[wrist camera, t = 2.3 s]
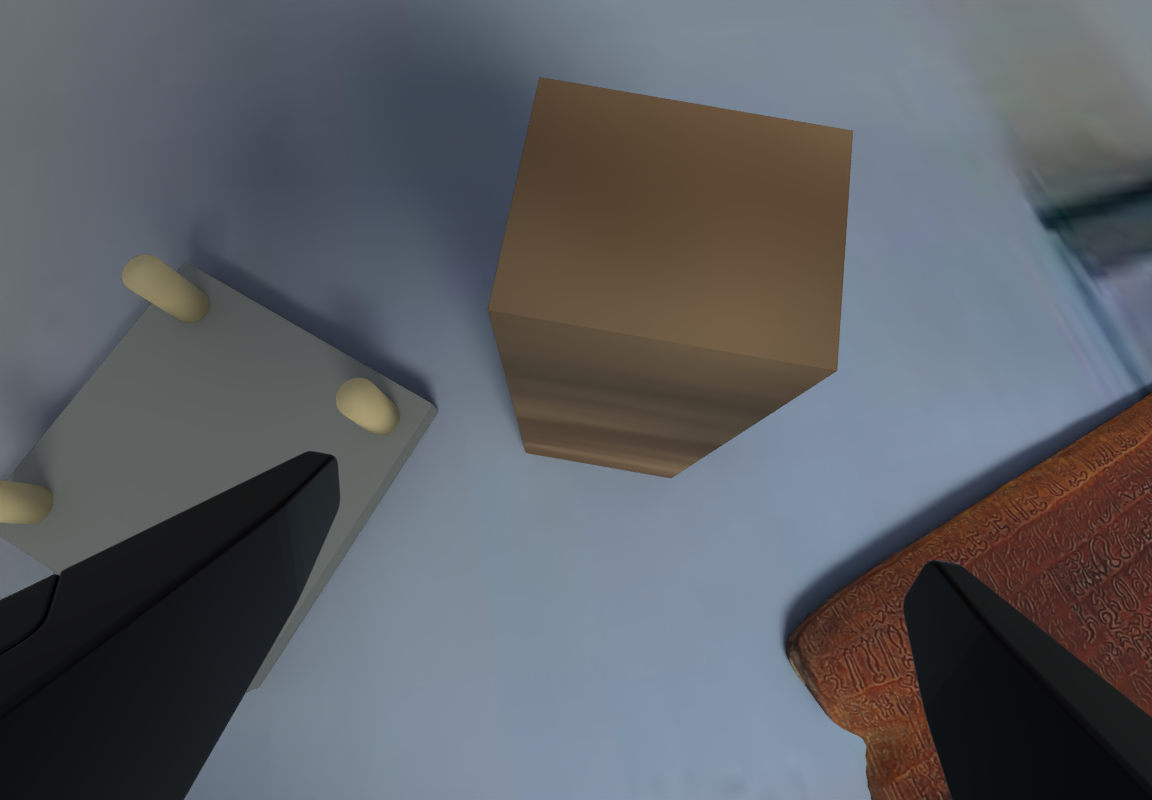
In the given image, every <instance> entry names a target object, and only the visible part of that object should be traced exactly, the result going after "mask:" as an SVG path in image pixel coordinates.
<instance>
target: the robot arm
mask: <svg viewBox="0 0 1152 800" xmlns="http://www.w3.org/2000/svg"><path fill="white" fill-rule="evenodd" d="M339 505H340V484H339V470H338V461H337V459H336V457H335V456H333V455H332V454H326V453H321V452H315V451H307V452H304V453H302V454H300V455H298V456H296V457H294V458H292V459H290V460H288V461H285V462H283V463H281V464H279V465H277V466H275V467H273V468H271V469H269V470H267V471H265V472H263V473H261V474H259V475H257V476H255V477H253V478H251V479H249V480H246V481H244V482H242V483H240V484H238V485H236V486H234V487H232V488H230V489H228V490H226V491H224V492H222V493H220V494H218V495H216V496H214V497H212V498H210V499H208V500H205V501H203V502H201V503H199V504H197V505H195V506H193V507H191V508H189V509H187V510H185V511H183V512H181V513H179V514H177V515H175V516H173V517H171V518H169V519H167V520H164V521H162V522H160V523H158V524H156V525H154V526H152V527H150V528H148V529H146V530H144V531H142V532H140V533H138V534H136V535H134V536H132V537H130V538H128V539H126V540H123V541H121V542H119V543H117V544H115V545H113V546H111V547H109V548H107V549H105V550H103V551H101V552H99V553H97V554H95V555H93V556H91V557H89V558H87V559H84V560H82V561H80V562H78V563H76V564H74V565H72V566H70V567H68V568H66V569H64V570H62V571H61V573H60V575H57V574H54V575H51V576H49V577H47V578H45V579H43V580H41V581H39V582H37V583H35V584H33V585H31V586H29V587H27V588H25V589H23V590H21V591H18V592H16V593H14V594H12V595H10V596H8V597H6V598H3V599H1V600H0V800H184V798H185V797H186V795H187V793H188V791H189V790H190V788H191V786H192V784H193V783H194V781H195V779H196V778H197V776H198V774H199V772H200V771H201V769H202V767H203V765H204V764H205V762H206V760H207V759H208V757H209V755H210V753H211V752H212V750H213V748H214V746H215V745H216V743H217V741H218V740H219V738H220V736H221V734H222V733H223V731H224V729H225V727H226V726H227V724H228V722H229V721H230V719H231V717H232V715H233V714H234V712H235V710H236V708H237V707H238V705H239V703H240V701H241V700H242V698H243V696H244V695H245V693H246V691H247V689H248V688H249V686H250V684H251V682H252V681H253V679H254V677H255V676H256V674H257V672H258V670H259V669H260V667H261V665H262V663H263V662H264V660H265V658H266V657H267V655H268V653H269V651H270V650H271V648H272V646H273V644H274V643H275V641H276V639H277V638H278V636H279V634H280V632H281V631H282V629H283V627H284V625H285V624H286V622H287V620H288V618H289V617H290V615H291V613H292V611H293V610H294V608H295V606H296V604H297V602H298V600H299V598H300V596H301V594H302V592H303V590H304V588H305V585H306V583H307V581H308V579H309V576H310V574H311V572H312V569H313V567H314V565H315V563H316V560H317V558H318V556H319V553H320V551H321V549H322V546H323V544H324V542H325V540H326V537H327V535H328V533H329V530H330V528H331V526H332V523H333V521H334V519H335V517H336V514H337V512H338V509H339ZM903 613H904V618H905V623H906V628H907V633H908V638H909V642H910V647H911V652H912V657H913V662H914V667H915V672H916V677H917V682H918V687H919V691H920V696H921V700H922V704H923V708H924V712H925V716H926V719H927V723H928V726H929V729H930V733H931V736H932V739H933V742H934V745H935V748H936V752H937V755H938V758H939V761H940V764H941V767H942V771H943V774H944V777H945V780H946V783H947V787H948V790H949V793H950V796H951V799H952V800H1152V717H1151V716H1150V715H1149V714H1147V713H1146V712H1145V711H1144V710H1142V709H1141V708H1140V707H1139V706H1137V705H1136V704H1135V703H1134V702H1132V701H1131V700H1130V699H1129V698H1127V697H1126V696H1125V695H1124V694H1122V693H1121V692H1120V691H1118V690H1117V689H1116V688H1115V687H1113V686H1112V685H1111V684H1110V683H1108V682H1107V681H1106V680H1105V679H1103V678H1102V677H1101V676H1100V675H1098V674H1097V673H1096V672H1095V671H1093V670H1092V669H1091V668H1090V667H1088V666H1087V665H1086V664H1085V663H1083V662H1082V661H1081V660H1080V659H1078V658H1077V657H1076V656H1075V655H1073V654H1072V653H1071V652H1070V651H1068V650H1067V649H1066V648H1065V647H1063V646H1062V645H1061V644H1060V643H1058V642H1057V641H1056V640H1054V639H1053V638H1052V637H1051V636H1049V635H1048V634H1047V633H1046V632H1044V631H1043V630H1042V629H1041V628H1039V627H1038V626H1037V625H1036V624H1034V623H1033V622H1032V621H1031V620H1029V619H1028V618H1027V617H1026V616H1024V615H1023V614H1022V613H1021V612H1019V611H1018V610H1017V609H1016V608H1014V607H1013V606H1012V605H1011V604H1009V603H1008V602H1007V601H1006V600H1004V599H1003V598H1002V597H1001V596H999V595H998V594H997V593H996V592H994V591H993V590H992V589H991V588H989V587H988V586H987V585H985V584H984V583H983V582H982V581H980V580H979V579H978V578H977V577H975V576H974V575H973V574H972V573H970V572H969V571H968V570H967V569H965V568H964V567H963V566H961V565H959V564H956V563H951V562H946V561H940V560H930V561H928V562H927V563H925V565H924V566H923V567H922V569H921V571H920V572H919V574H918V576H917V577H916V579H915V580H914V582H913V584H912V585H911V587H910V588H909V590H908V592H907V593H906V595H905V598H904V602H903Z"/></svg>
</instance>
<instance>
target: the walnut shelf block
mask: <svg viewBox="0 0 1152 800" xmlns="http://www.w3.org/2000/svg"><path fill="white" fill-rule="evenodd" d="M852 138H853V131H852V130H846V129H840V128H834V127H828V126H822V125H816V124H811V123H805V122H799V121H793V120H787V119H781V118H776V117H770V116H764V115H758V114H752V113H746V112H740V111H735V110H729V109H723V108H717V107H711V106H705V105H699V104H694V103H688V102H682V101H676V100H670V99H664V98H658V97H653V96H647V95H641V94H635V93H629V92H623V91H617V90H612V89H606V88H600V87H594V86H588V85H582V84H576V83H571V82H565V81H559V80H553V79H547V78H541V77H539V81H538V86H537V90H536V95H535V99H534V104H533V108H532V113H531V117H530V122H529V126H528V131H527V135H526V140H525V144H524V149H523V153H522V158H521V162H520V167H519V171H518V176H517V180H516V185H515V189H514V194H513V198H512V203H511V207H510V212H509V216H508V221H507V225H506V230H505V234H504V239H503V243H502V248H501V252H500V257H499V261H498V266H497V270H496V275H495V279H494V284H493V288H492V293H491V297H490V302H489V306H488V313H489V317H490V321H491V324H492V328H493V332H494V336H495V339H496V343H497V347H498V350H499V354H500V358H501V362H502V365H503V369H504V373H505V376H506V380H507V384H508V388H509V391H510V395H511V399H512V403H513V406H514V410H515V414H516V417H517V421H518V425H519V429H520V432H521V436H522V440H523V443H524V447H525V451H526V453H530V454H536V455H542V456H547V457H553V458H559V459H564V460H570V461H576V462H582V463H587V464H593V465H599V466H604V467H610V468H616V469H622V470H627V471H633V472H639V473H644V474H650V475H656V476H661V477H667V478H672V477H674V476H675V475H677V474H678V473H680V472H682V471H683V470H685V469H686V468H688V467H689V466H691V465H692V464H694V463H695V462H697V461H699V460H700V459H702V458H703V457H705V456H706V455H708V454H709V453H711V452H712V451H714V450H716V449H717V448H719V447H720V446H722V445H723V444H725V443H726V442H728V441H729V440H731V439H733V438H734V437H736V436H737V435H739V434H740V433H742V432H743V431H745V430H746V429H748V428H749V427H751V426H753V425H754V424H756V423H757V422H759V421H760V420H762V419H763V418H765V417H766V416H768V415H770V414H771V413H773V412H774V411H776V410H777V409H779V408H780V407H782V406H783V405H785V404H787V403H788V402H790V401H791V400H793V399H794V398H796V397H797V396H799V395H800V394H802V393H804V392H805V391H807V390H808V389H810V388H811V387H813V386H814V385H816V384H817V383H819V382H821V381H822V380H824V379H825V378H827V377H828V376H830V375H831V374H833V373H834V372H836V371H837V365H838V350H839V335H840V320H841V304H842V289H843V274H844V259H845V244H846V229H847V214H848V199H849V184H850V168H851V153H852Z"/></svg>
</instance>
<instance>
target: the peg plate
mask: <svg viewBox="0 0 1152 800" xmlns="http://www.w3.org/2000/svg"><path fill="white" fill-rule="evenodd" d="M122 280H123V283H124V284H125V286H126V287H127V288H129V289H130V290H132V291H133V292H135V293H137V294H138V295H140V296H141V297H143V298H145V299H146V300H148V301H149V302H151V304H150V305H149V306H148V308H147V309H146V310H145V311H144V313H143V314H142V315H141V316H140V317H139V319H138V320H137V321H136V322H135V324H134V325H133V326H132V327H131V328H130V330H129V331H128V332H127V333H126V335H125V336H124V337H123V338H122V339H121V341H120V342H119V343H118V344H117V346H116V347H115V348H114V349H113V350H112V352H111V353H110V354H109V355H108V357H107V358H106V359H105V360H104V361H103V363H102V364H101V365H100V366H99V368H98V369H97V370H96V371H95V372H94V374H93V375H92V376H91V377H90V379H89V380H88V381H87V382H86V383H85V385H84V386H83V387H82V388H81V390H80V391H79V392H78V393H77V394H76V396H75V397H74V398H73V399H72V401H71V402H70V403H69V404H68V405H67V407H66V408H65V409H64V410H63V412H62V413H61V414H60V415H59V416H58V418H57V419H56V420H55V421H54V423H53V424H52V425H51V426H50V427H49V429H48V430H47V431H46V432H45V434H44V435H43V436H42V437H41V439H40V440H39V441H38V442H37V443H36V445H35V446H34V447H33V448H32V450H31V451H30V452H29V453H28V454H27V456H26V457H25V458H24V459H23V461H22V462H21V463H20V464H19V465H18V467H17V468H16V469H15V470H14V472H13V473H12V474H11V475H10V476H9V478H8V479H7V480H6V481H5V480H0V536H1V537H2V538H4V539H5V540H7V541H8V542H10V543H11V544H13V545H15V546H16V547H18V548H19V549H21V550H22V551H24V552H25V553H27V554H28V555H30V556H31V557H33V558H35V559H36V560H38V561H39V562H41V563H42V564H44V565H45V566H47V567H48V568H50V569H52V570H53V571H55V572H56V573H58V574H59V575H60V573H61V571H62V570H64V569H66V568H68V567H70V566H72V565H74V564H76V563H78V562H80V561H82V560H84V559H87V558H89V557H91V556H93V555H95V554H97V553H99V552H101V551H103V550H105V549H107V548H109V547H111V546H113V545H115V544H117V543H119V542H121V541H123V540H126V539H128V538H130V537H132V536H134V535H136V534H138V533H140V532H142V531H144V530H146V529H148V528H150V527H152V526H154V525H156V524H158V523H160V522H162V521H164V520H167V519H169V518H171V517H173V516H175V515H177V514H179V513H181V512H183V511H185V510H187V509H189V508H191V507H193V506H195V505H197V504H199V503H201V502H203V501H205V500H208V499H210V498H212V497H214V496H216V495H218V494H220V493H222V492H224V491H226V490H228V489H230V488H232V487H234V486H236V485H238V484H240V483H242V482H244V481H246V480H249V479H251V478H253V477H255V476H257V475H259V474H261V473H263V472H265V471H267V470H269V469H271V468H273V467H275V466H277V465H279V464H281V463H283V462H285V461H288V460H290V459H292V458H294V457H296V456H298V455H300V454H302V453H304V452H307V451H315V452H321V453H326V454H332V455H333V456H335V457H336V459H337V461H338V470H339V484H340V505H339V509H338V512H337V514H336V517H335V519H334V521H333V523H332V526H331V528H330V530H329V533H328V535H327V537H326V540H325V542H324V544H323V546H322V549H321V551H320V553H319V556H318V558H317V560H316V563H315V565H314V567H313V569H312V572H311V574H310V576H309V579H308V581H307V583H306V585H305V588H304V590H303V592H302V594H301V596H300V598H299V600H298V602H297V604H296V606H295V608H294V610H293V611H292V613H291V615H290V617H289V618H288V620H287V622H286V624H285V625H284V627H283V629H282V631H281V632H280V634H279V636H278V638H277V639H276V641H275V643H274V644H273V646H272V648H271V650H270V651H269V653H268V655H267V657H266V658H265V660H264V662H263V663H262V665H261V667H260V669H259V670H258V672H257V674H256V676H255V677H254V679H253V681H252V682H251V684H250V686H249V688H248V689H247V691H246V693H247V692H249V691H251V690H253V689H255V688H258V687H259V686H260V685H261V683H262V682H263V680H264V679H265V677H266V676H267V674H268V673H269V671H270V669H271V668H272V666H273V665H274V663H275V662H276V660H277V659H278V657H279V656H280V654H281V653H282V651H283V649H284V648H285V646H286V645H287V643H288V642H289V640H290V639H291V637H292V636H293V634H294V633H295V631H296V629H297V628H298V626H299V625H300V623H301V622H302V620H303V619H304V617H305V616H306V614H307V613H308V611H309V609H310V608H311V606H312V605H313V603H314V602H315V600H316V599H317V597H318V596H319V594H320V593H321V591H322V589H323V588H324V586H325V585H326V583H327V582H328V580H329V579H330V577H331V576H332V574H333V573H334V571H335V569H336V568H337V566H338V565H339V563H340V562H341V560H342V559H343V557H344V556H345V554H346V552H347V551H348V549H349V548H350V546H351V545H352V543H353V542H354V540H355V539H356V537H357V536H358V534H359V532H360V531H361V529H362V528H363V526H364V525H365V523H366V522H367V520H368V519H369V517H370V516H371V514H372V512H373V511H374V509H375V508H376V506H377V505H378V503H379V502H380V500H381V499H382V497H383V496H384V494H385V492H386V491H387V489H388V488H389V486H390V485H391V483H392V482H393V480H394V479H395V477H396V476H397V474H398V472H399V471H400V469H401V468H402V466H403V465H404V463H405V462H406V460H407V459H408V457H409V456H410V454H411V452H412V451H413V449H414V448H415V446H416V445H417V443H418V442H419V440H420V439H421V437H422V435H423V434H424V432H425V431H426V429H427V428H428V426H429V425H430V423H431V422H432V420H433V419H434V417H435V415H436V414H437V412H438V410H437V409H436V408H435V406H434V405H433V404H432V403H430V402H428V401H426V400H425V399H423V398H421V397H420V396H418V395H416V394H414V393H413V392H411V391H409V390H407V389H406V388H404V387H402V386H400V385H399V384H397V383H395V382H394V381H392V380H390V379H388V378H387V377H385V376H383V375H381V374H380V373H378V372H376V371H374V370H373V369H371V368H369V367H368V366H366V365H364V364H362V363H361V362H359V361H357V360H355V359H354V358H352V357H350V356H348V355H347V354H345V353H343V352H342V351H340V350H338V349H336V348H335V347H333V346H331V345H329V344H328V343H326V342H324V341H322V340H321V339H319V338H317V337H316V336H314V335H312V334H310V333H309V332H307V331H305V330H303V329H302V328H300V327H298V326H296V325H295V324H293V323H291V322H290V321H288V320H286V319H284V318H283V317H281V316H279V315H277V314H276V313H274V312H272V311H270V310H269V309H267V308H265V307H264V306H262V305H260V304H258V303H257V302H255V301H253V300H251V299H250V298H248V297H246V296H244V295H243V294H241V293H239V292H238V291H236V290H234V289H232V288H231V287H229V286H227V285H225V284H224V283H222V282H220V281H218V280H217V279H215V278H213V277H212V276H210V275H208V274H206V273H205V272H203V271H201V270H199V269H198V268H196V267H194V266H192V265H191V264H189V263H187V262H184V264H183V265H182V266H181V267H180V269H179V270H178V271H177V272H176V271H174V270H173V269H172V268H170V267H169V266H168V265H166V264H165V263H164V262H162V261H161V260H160V259H158V258H157V257H155V256H153V255H147V254H145V255H139V256H136V257H134V258H132V259H131V260H130V261H128V263H127V264H126V265H125V267H124V268H123V271H122Z"/></svg>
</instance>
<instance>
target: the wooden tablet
mask: <svg viewBox="0 0 1152 800" xmlns="http://www.w3.org/2000/svg"><path fill="white" fill-rule="evenodd" d="M930 560H940V561H946V562H951V563H956V564H959V565H961V566H963V567H964V568H965V569H967V570H968V571H969V572H970V573H972V574H973V575H974V576H975V577H977V578H978V579H979V580H980V581H982V582H983V583H984V584H985V585H987V586H988V587H989V588H991V589H992V590H993V591H994V592H996V593H997V594H998V595H999V596H1001V597H1002V598H1003V599H1004V600H1006V601H1007V602H1008V603H1009V604H1011V605H1012V606H1013V607H1014V608H1016V609H1017V610H1018V611H1019V612H1021V613H1022V614H1023V615H1024V616H1026V617H1027V618H1028V619H1029V620H1031V621H1032V622H1033V623H1034V624H1036V625H1037V626H1038V627H1039V628H1041V629H1042V630H1043V631H1044V632H1046V633H1047V634H1048V635H1049V636H1051V637H1052V638H1053V639H1054V640H1056V641H1057V642H1058V643H1060V644H1061V645H1062V646H1063V647H1065V648H1066V649H1067V650H1068V651H1070V652H1071V653H1072V654H1073V655H1075V656H1076V657H1077V658H1078V659H1080V660H1081V661H1082V662H1083V663H1085V664H1086V665H1087V666H1088V667H1090V668H1091V669H1092V670H1093V671H1095V672H1096V673H1097V674H1098V675H1100V676H1101V677H1102V678H1103V679H1105V680H1106V681H1107V682H1108V683H1110V684H1111V685H1112V686H1113V687H1115V688H1116V689H1117V690H1118V691H1120V692H1121V693H1122V694H1124V695H1125V696H1126V697H1127V698H1129V699H1130V700H1131V701H1132V702H1134V703H1135V704H1136V705H1137V706H1139V707H1140V708H1141V709H1142V710H1144V711H1145V712H1146V713H1147V714H1149V715H1150V716H1151V717H1152V392H1151V393H1150V394H1149V395H1147V396H1146V397H1144V398H1143V399H1142V400H1140V401H1139V402H1137V403H1136V404H1134V405H1133V406H1131V407H1130V408H1128V409H1127V410H1125V411H1123V412H1121V413H1120V414H1118V415H1117V416H1115V417H1114V418H1112V419H1111V420H1109V421H1108V422H1106V423H1104V424H1102V425H1101V426H1099V427H1097V428H1096V429H1095V430H1093V431H1092V432H1090V433H1088V434H1087V435H1085V436H1083V437H1082V438H1080V439H1078V440H1077V441H1075V442H1073V443H1072V444H1070V445H1069V446H1067V447H1066V448H1064V449H1062V450H1061V451H1059V452H1058V453H1056V454H1054V455H1053V456H1051V457H1049V458H1048V459H1046V460H1044V461H1043V462H1041V463H1039V464H1038V465H1036V466H1035V467H1033V468H1031V469H1030V470H1028V471H1026V472H1025V473H1023V474H1021V475H1020V476H1018V477H1016V478H1015V479H1013V480H1011V481H1009V482H1008V483H1006V484H1004V485H1002V486H1001V487H999V488H998V489H997V490H996V491H995V492H993V493H992V494H990V495H988V496H987V497H985V498H984V499H982V500H980V501H979V502H977V503H976V504H974V505H972V506H971V507H969V508H968V509H966V510H964V511H963V512H961V513H959V514H958V515H956V516H954V517H953V518H952V519H950V520H949V521H947V522H946V523H944V524H943V525H941V526H940V527H938V528H936V529H935V530H933V531H931V532H930V533H929V534H927V535H926V536H923V537H921V538H919V539H917V540H916V541H915V542H913V543H912V544H910V545H909V546H907V547H906V548H904V549H902V550H901V551H899V552H896V553H894V554H892V555H891V556H889V557H888V558H887V559H886V560H885V561H883V562H881V563H880V564H878V565H876V566H875V567H873V568H871V569H870V570H868V571H867V572H865V573H864V574H862V575H861V576H859V577H857V578H855V579H854V580H852V581H851V582H850V583H849V584H848V585H846V586H845V587H843V588H841V589H840V590H838V591H837V592H836V593H834V594H833V595H831V596H830V597H829V598H828V599H827V600H826V601H825V602H824V603H822V604H821V605H820V606H819V607H818V608H817V609H816V610H815V611H814V612H812V613H811V614H810V615H808V616H807V618H806V619H805V620H804V621H803V622H801V624H800V625H799V626H798V627H797V629H795V630H794V632H793V633H792V634H791V635H790V636H789V638H788V645H787V655H788V658H789V661H790V663H791V665H792V667H793V669H794V671H795V672H796V674H797V675H798V677H799V678H800V679H801V680H802V682H803V683H804V684H805V686H806V687H807V688H808V690H809V691H810V692H811V694H812V695H813V697H814V698H815V700H816V701H817V702H818V704H819V705H820V706H821V708H822V709H823V710H824V712H825V713H826V715H827V716H829V717H830V719H831V720H832V721H833V722H834V723H836V724H837V725H838V726H840V727H841V728H843V729H845V730H847V731H849V732H851V733H853V734H855V735H858V736H859V737H861V738H862V739H863V740H864V742H865V744H866V746H867V749H866V755H865V756H866V762H867V766H866V774H867V779H868V789H869V791H870V793H871V799H872V800H952V799H951V796H950V793H949V790H948V787H947V783H946V780H945V777H944V774H943V771H942V767H941V764H940V761H939V758H938V755H937V752H936V748H935V745H934V742H933V739H932V736H931V733H930V729H929V726H928V723H927V719H926V716H925V712H924V708H923V704H922V700H921V696H920V691H919V687H918V682H917V677H916V672H915V667H914V662H913V657H912V652H911V647H910V642H909V638H908V633H907V628H906V623H905V618H904V613H903V602H904V598H905V595H906V593H907V592H908V590H909V588H910V587H911V585H912V584H913V582H914V580H915V579H916V577H917V576H918V574H919V572H920V571H921V569H922V567H923V566H924V565H925V563H927V562H928V561H930Z"/></svg>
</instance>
